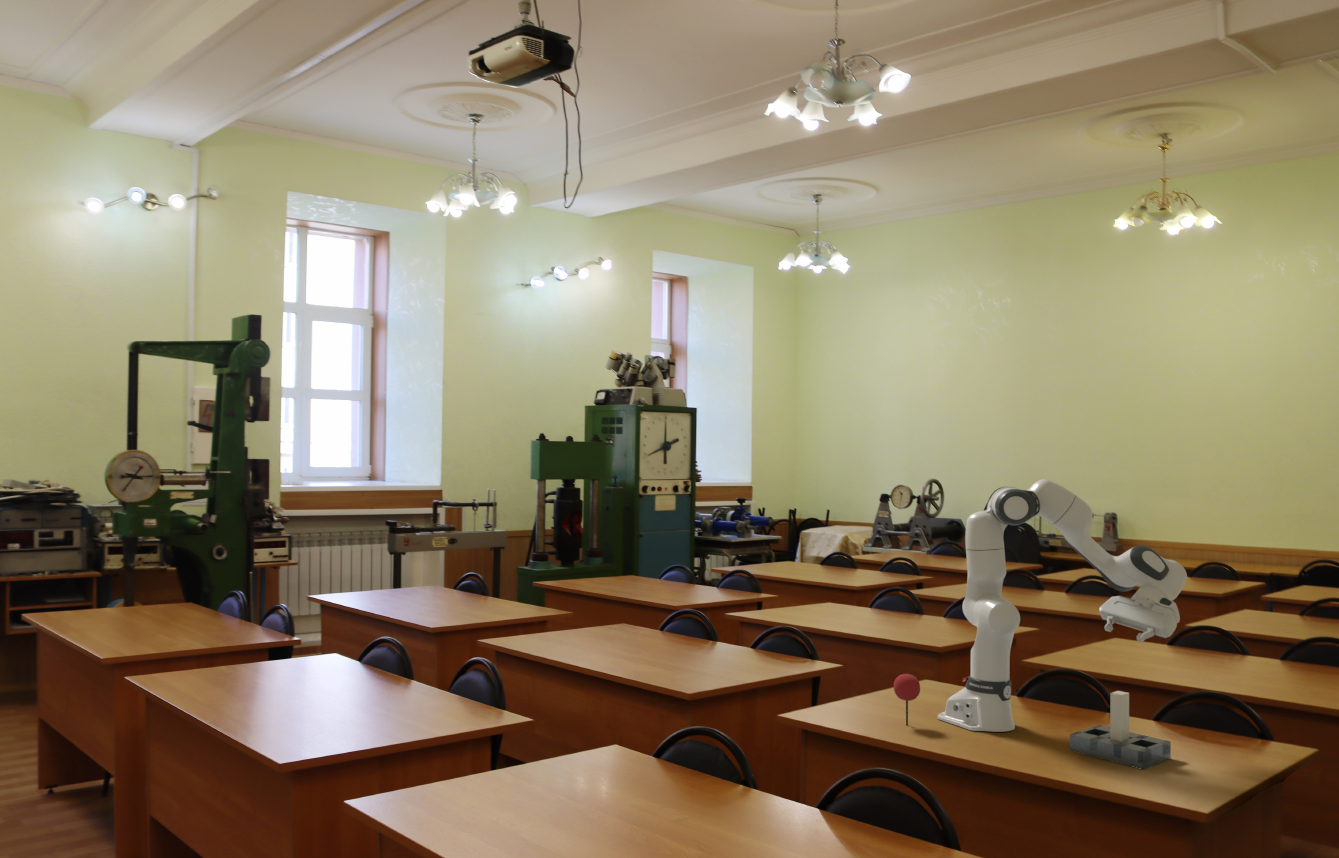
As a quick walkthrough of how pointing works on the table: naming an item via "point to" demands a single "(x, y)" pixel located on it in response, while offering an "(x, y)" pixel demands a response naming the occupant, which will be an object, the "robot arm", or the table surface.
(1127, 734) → the clay bar
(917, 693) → the lollipop
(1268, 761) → the table surface
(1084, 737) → the rack
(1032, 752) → the table surface
